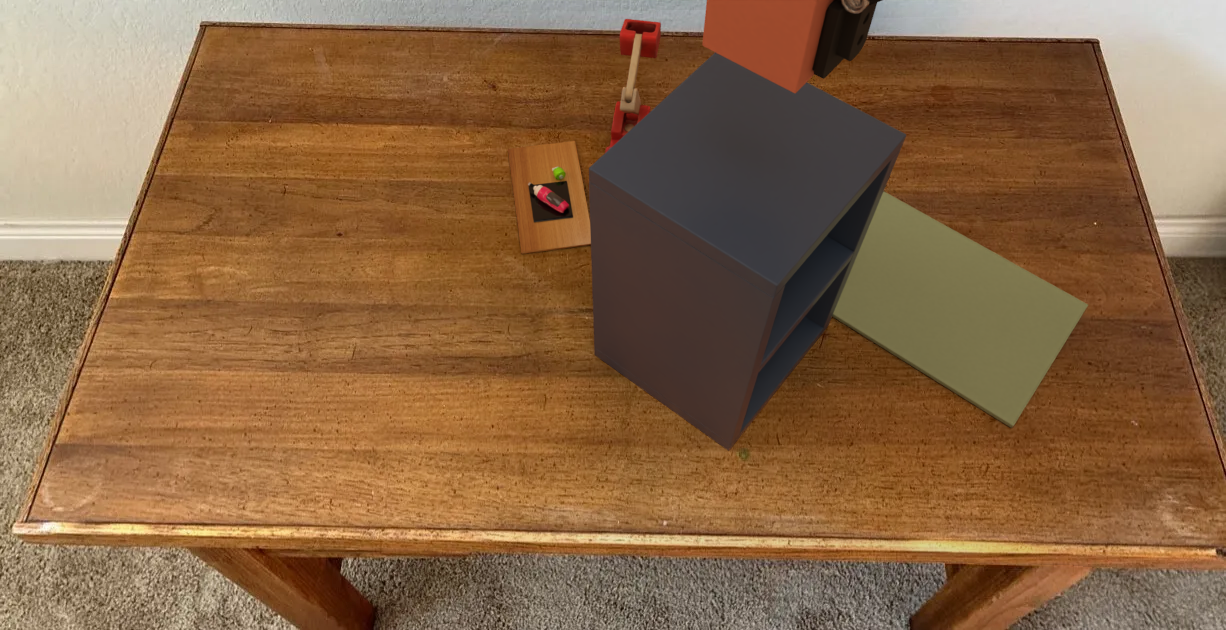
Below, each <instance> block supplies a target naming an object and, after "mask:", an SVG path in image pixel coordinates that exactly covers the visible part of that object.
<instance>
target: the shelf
mask: <svg viewBox="0 0 1226 630" xmlns="http://www.w3.org/2000/svg"><path fill="white" fill-rule="evenodd" d="M906 138H907V134H906V133H904V132H903V131H901V130H899V129H898V128H895V127H893V126H891V125H889V124H888V123H885V122H883V121H882V120H880V119H878V118H876V117H874V116H872V115H870V114H868V113H867V112H864V111H863V110H861V109H859V108H857V107H855V106H853V105H851V104H849V103H847V102H845V101H844V100H842V99H840V98H838V97H836V96H834V95H833V94H830V93H828V92H826V91H825V90H823V89H821V88H818V87H817V86H815V85H813V84H811V83H810V82H808V81H807V82H806V83H805V84H804V85H803V86H802V87H801V88H800V89H799V90H798V91H797V92H796V93H793V92H791V91H789V90H787V89H785V88H783V87H781V86H779V85H777V84H775V83H774V82H772V81H770V80H768V79H766V78H764V77H762V76H760V75H758V74H756V73H754V72H752V71H750V70H748V69H746V68H745V67H743V66H741V65H739V64H737V63H735V62H733V61H731V60H729V59H727V58H725V57H723V56H721V55H719V54H717V53H716V52H714V53H713V54H711V55H710V56H709V57H708V58H707V59H706V60H705V61H704V62H703V63H702V64H701V65H700V66H699V67H697V68H696V69H695V70H694V71H693V72H692V73H691V74H689V76H688V77H687V78H685V79H684V80H683V81H682V82H681V83H680V84H679V85H678V86H677V87H676V88H675V89H673V90H672V91H671V92H670V93H669V94H668V95H667V96H666V97H664V98H663V100H661V101H660V102H659V103H657V105H656V106H655V107H654V108H653V109H652V110H650V113H648V114H647V115H646V116H645V117H644V118H643V119H642V120H641V121H640V122H639V123H638V124H636V125H635V126H634V127H633V128H632V129H631V130H630V131H629V132H628V133H627V134H626V135H624V136H623V137H622V138H621V139H620V140H619V141H618V142H617V143H616V144H615V145H613V146H612V147H611V148H610V149H609V150H608V151H607V152H606V153H605V152H604V154H603V155H601V156H600V157H599V158H598V159H597V160H596V161H595V162H594V163H593V164H592V165H590V166H589V167H588V194H589V195H588V196H589V197H588V198H589V218H590V231H591V245H590V257H591V258H590V259H591V287H592V290H591V291H592V320H593V321H592V323H593V344H594V345H593V352H594V356H596V357H597V358H598V359H600V360H601V361H602V362H604V363H605V364H606V365H608V366H609V367H611V368H612V369H613V370H615V371H616V372H618V373H619V374H621V375H622V376H623V377H625V379H628V380H629V381H631V382H632V383H633V384H634V385H635V386H637V387H638V388H640V389H642V391H644V392H645V393H647V394H649V395H650V396H651V397H652V398H654V399H655V400H656V401H659V403H661V404H662V405H663V406H665V407H667V408H668V409H670V410H671V411H672V412H674V413H675V414H677V415H678V416H679V417H681V418H682V419H683V420H685V421H686V422H688V423H689V424H690V425H691V426H693V427H695V428H696V429H698V430H699V431H700V432H702V433H703V434H705V436H707V437H709V438H710V439H711V440H713V441H714V442H716V444H718V445H719V446H721V447H723V448H724V449H725V450H727V451H728V452H729V451H730V450H732V448H733V447H734V445H735V444H736V443H737V442H738V440H739V439H740V438H741V437H742V435H743V434H744V433H745V432H746V430H748V428H749V427H750V426H751V424H752V423H753V422H754V420H755V419H756V418H757V416H758V415H759V414H760V413H761V412H762V410H763V409H764V408H765V406H766V405H767V404H768V403H769V401H770V400H771V399H772V398H773V396H774V395H775V394H776V393H777V391H778V390H779V389H780V388H781V386H782V385H783V384H784V382H786V380H787V379H788V378H789V376H790V375H791V374H792V373H793V371H794V370H795V369H796V367H798V366H799V364H800V363H801V361H802V360H803V359H804V357H806V355H807V353H808V352H809V351H810V350H811V349H812V347H813V346H814V345H815V344H816V342H817V341H818V340H819V339H820V337H821V336H822V335H823V333H824V332H825V331H826V330H827V328H828V327H829V326H830V323H831V321H832V318H833V317H832V315H833V313H834V310H835V308H836V306H837V303H838V301H839V298H840V296H841V293H842V291H843V289H844V286H845V284H846V281H847V279H848V276H849V274H850V272H851V269H852V267H853V264H854V262H855V259H856V257H857V255H858V252H859V250H860V247H861V245H862V242H863V240H864V238H865V235H866V233H867V230H868V228H869V225H870V223H871V221H872V218H873V216H874V213H875V211H876V208H877V206H878V204H879V201H880V199H881V196H882V194H883V191H884V192H885V189H886V187H887V184H888V182H889V179H890V177H891V174H892V172H893V170H894V167H895V165H896V162H897V160H898V157H899V155H900V153H901V150H902V147H903V145H904V142H905V140H906Z"/></svg>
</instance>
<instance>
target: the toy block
mask: <svg viewBox="0 0 1226 630" xmlns="http://www.w3.org/2000/svg"><path fill="white" fill-rule="evenodd" d="M833 1H834V0H706V2H705V3H706V5H705V13H704V14H705V15H704V25H703V35H702V42H701V43H702V47H704V48H706V49H708V50H710V51H712V52H714V53H715V52H716V53H717V54H719V55H721V56H723V57H725V58H727V59H729V60H731V61H733V62H735V63H737V64H739V65H741V66H743V67H745V68H746V69H748V70H750V71H752V72H754V73H756V74H758V75H760V76H762V77H764V78H766V79H768V80H770V81H772V82H774V83H775V84H777V85H779V86H781V87H783V88H785V89H787V90H789V91H791V92H793V93H796V92H797V91H798V90H799V89H800V88H801V87H802V86H803V85H804V84H805V83H806V82H807V83H808V81H810V80H811V78H812V77H813V76H815V74H814V71H813V70H812V68H813V64H814V60H815V55H816V51H817V47H818V43H819V39H820V35H821V31H822V26H823V22H824V18H825V14H826V10H827V8H828V6H829V5H830V4H831V3H832V2H833Z"/></svg>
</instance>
